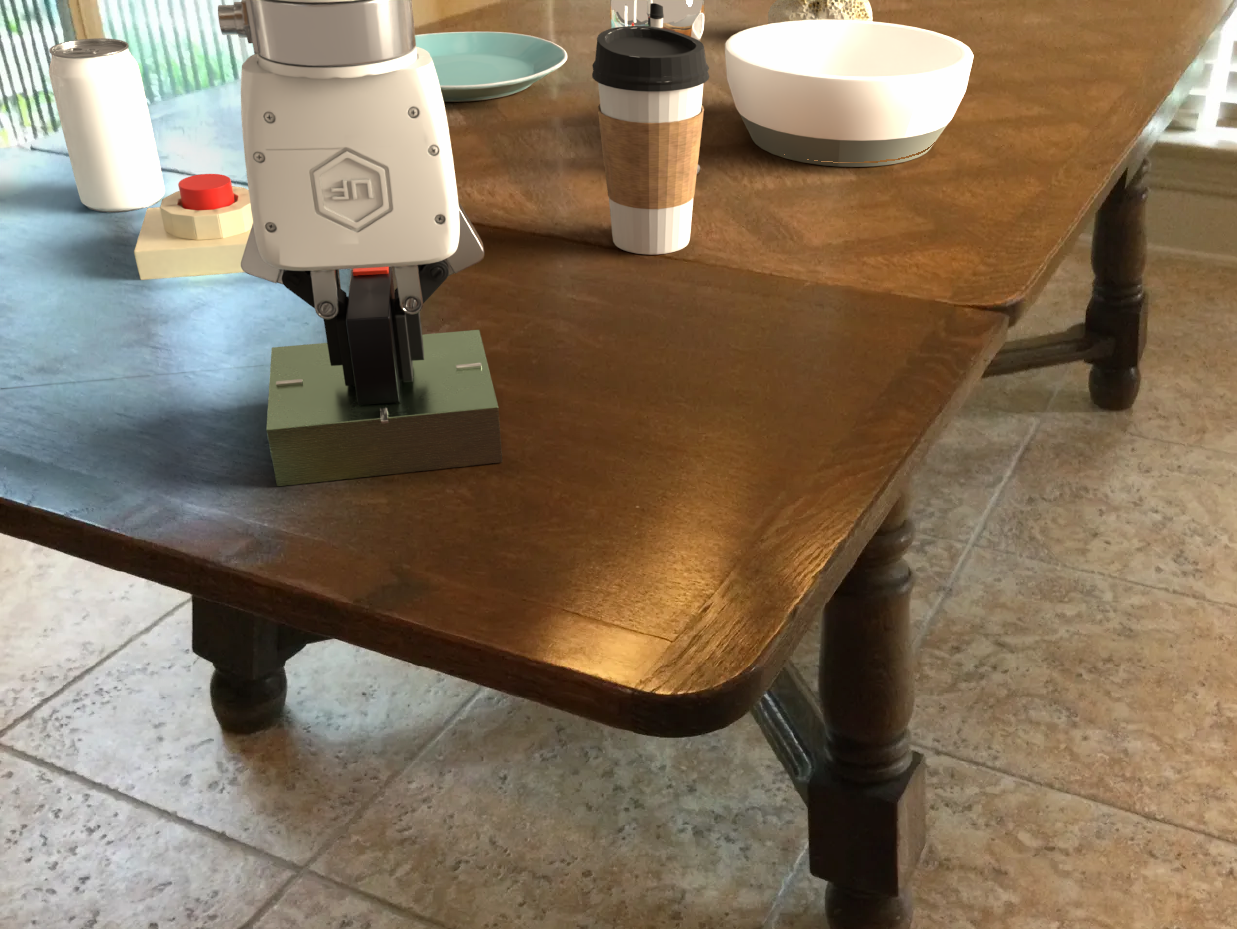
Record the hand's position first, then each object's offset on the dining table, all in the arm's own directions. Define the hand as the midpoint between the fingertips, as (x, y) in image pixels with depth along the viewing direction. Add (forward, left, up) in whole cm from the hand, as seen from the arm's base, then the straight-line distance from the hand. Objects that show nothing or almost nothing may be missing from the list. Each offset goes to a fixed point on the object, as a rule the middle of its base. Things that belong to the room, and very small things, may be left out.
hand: (379, 370), depth 73 cm
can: (-19, +43, -4) cm, 47 cm away
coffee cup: (+21, +26, -4) cm, 34 cm away
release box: (-11, +30, -4) cm, 32 cm away
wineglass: (+25, +42, -4) cm, 49 cm away
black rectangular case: (0, 0, 0) cm, 0 cm away
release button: (-11, +30, 0) cm, 32 cm away
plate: (+11, +74, -4) cm, 75 cm away
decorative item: (+54, +85, -4) cm, 101 cm away
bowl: (+44, +48, -4) cm, 65 cm away
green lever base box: (0, 0, -4) cm, 4 cm away
